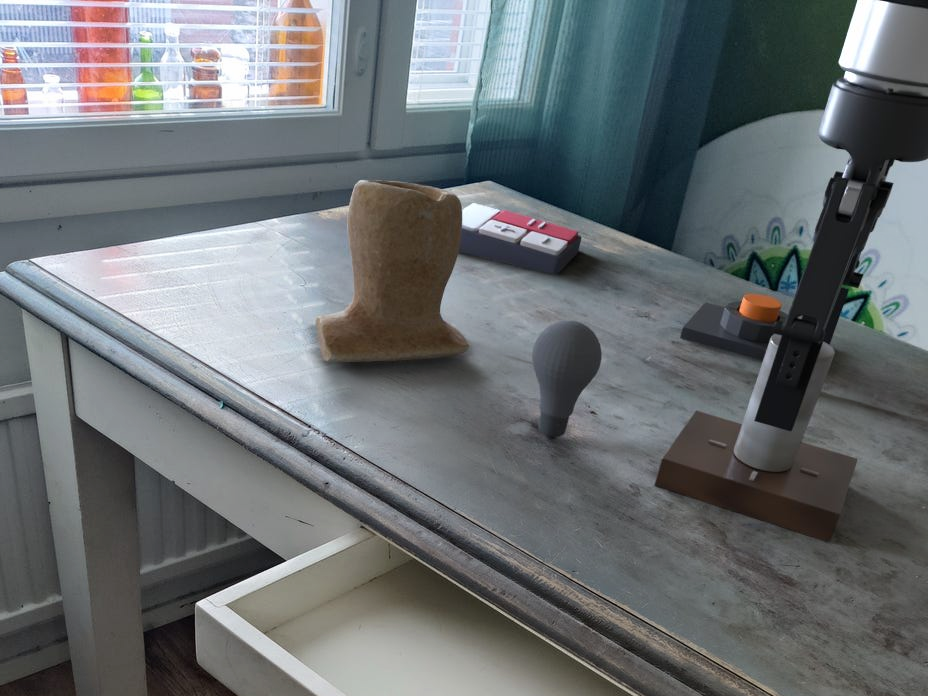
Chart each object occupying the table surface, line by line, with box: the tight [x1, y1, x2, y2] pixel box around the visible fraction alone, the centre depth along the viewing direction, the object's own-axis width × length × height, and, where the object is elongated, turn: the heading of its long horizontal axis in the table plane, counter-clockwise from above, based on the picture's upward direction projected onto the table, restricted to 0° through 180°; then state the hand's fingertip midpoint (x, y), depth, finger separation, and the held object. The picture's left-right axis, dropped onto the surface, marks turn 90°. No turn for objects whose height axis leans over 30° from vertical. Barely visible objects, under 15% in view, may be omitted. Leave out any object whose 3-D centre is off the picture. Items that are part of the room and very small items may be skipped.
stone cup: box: [315, 179, 470, 363], centre depth 90 cm, size 15×12×15 cm
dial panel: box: [654, 410, 858, 543], centre depth 81 cm, size 14×11×3 cm
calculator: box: [458, 203, 582, 275], centre depth 120 cm, size 11×4×15 cm
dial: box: [734, 334, 836, 472], centre depth 77 cm, size 5×5×10 cm
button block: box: [679, 300, 788, 362], centre depth 105 cm, size 13×10×4 cm
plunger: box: [739, 293, 782, 322], centre depth 103 cm, size 4×4×2 cm
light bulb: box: [531, 319, 603, 440], centre depth 81 cm, size 6×6×10 cm
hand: (789, 393), depth 76 cm, fingers open, 13 cm apart
